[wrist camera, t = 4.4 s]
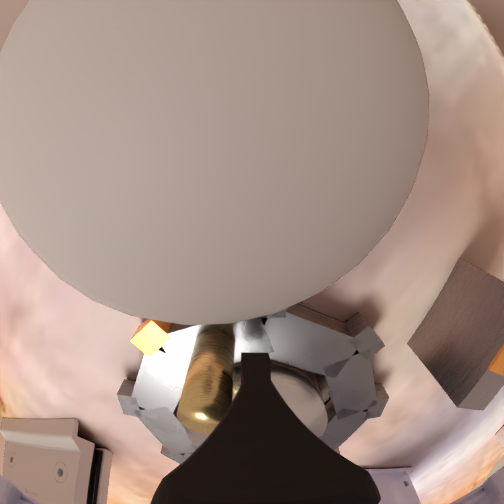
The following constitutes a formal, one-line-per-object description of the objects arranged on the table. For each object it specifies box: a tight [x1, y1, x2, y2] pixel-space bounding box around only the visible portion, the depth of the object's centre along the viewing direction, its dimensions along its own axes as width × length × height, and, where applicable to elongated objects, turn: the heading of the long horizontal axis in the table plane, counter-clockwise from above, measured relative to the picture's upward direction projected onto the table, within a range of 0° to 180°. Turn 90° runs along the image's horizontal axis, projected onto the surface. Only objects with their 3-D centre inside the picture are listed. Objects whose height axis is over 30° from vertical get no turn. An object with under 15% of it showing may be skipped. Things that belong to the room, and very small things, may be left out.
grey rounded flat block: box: [0, 418, 113, 504], centre depth 14 cm, size 17×5×10 cm, turn 112°
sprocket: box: [117, 304, 389, 464], centre depth 12 cm, size 15×15×6 cm
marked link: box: [407, 258, 504, 410], centre depth 11 cm, size 4×6×6 cm, turn 154°
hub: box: [185, 359, 328, 447], centre depth 14 cm, size 8×8×3 cm
